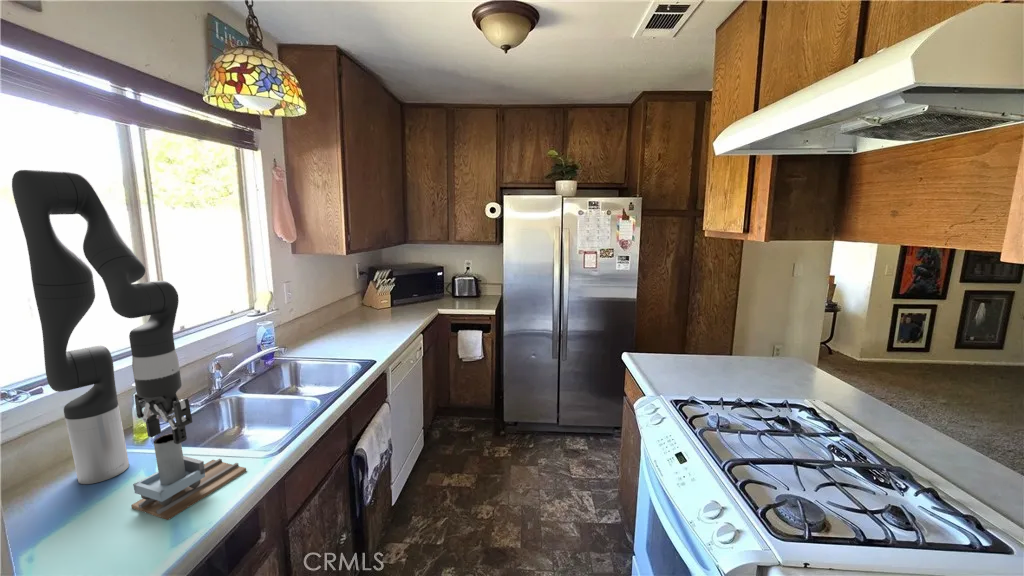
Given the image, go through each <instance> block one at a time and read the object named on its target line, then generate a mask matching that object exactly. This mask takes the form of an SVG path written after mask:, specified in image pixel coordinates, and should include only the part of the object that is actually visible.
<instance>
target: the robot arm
mask: <svg viewBox="0 0 1024 576" xmlns="http://www.w3.org/2000/svg"><path fill="white" fill-rule="evenodd" d="M11 190H12V195H13V199H14V200H13V201H14V204H15V207H16V210H17V213H18V218H19V220H20V223H21V227H22V230H23V235H24V238H25V242H26V246H27V251H28V259H29V265H30V274H31V281H32V283H31V284H32V288H33V289H32V290H33V294H34V298H35V303H36V307H37V312H38V316H39V317H38V318H39V321H40V325H41V333H42V342H43V343H42V344H43V357H44V369H45V376H46V380H47V383H48V385H49V386H50V389H52V391H55V392H58V393H59V392H60V393H61V392H68V391H70V390H71V391H72V390H76V389H80V388H84V387H87V386H92V385H93V386H92V387H91V388H89V389H88V391H86V392H85V393H84V394H82V395H80V396H78V397H76V398H74V399H72V400H70V401H69V402H68V403H66V404H65V405H64V407H63V414H64V419H65V424H66V428H67V429H66V430H67V433H68V438H69V444H70V447H71V454H72V457H73V463H74V468H75V473H76V478H77V482H78V484H81V485H92V484H96V483H100V482H104V481H107V480H110V479H113V478H114V477H115V478H116V477H117V476H119V475H121V474H122V473H124V472H125V471H126V470H127V469H129V466H130V462H129V457H128V451H127V445H126V438H125V433H124V428H123V423H122V416H121V412H120V406H119V400H118V394H117V393H118V392H117V387H116V380H115V368H114V362H113V361H114V360H113V356H112V353H111V351H110V350H109V349H108V348H107V346H106V347H105V346H103V345H95V346H89V347H84V348H79V349H74V350H69V351H67V348H68V345H69V340H70V338H71V335H72V333H73V332H74V330H75V328H76V327H77V326H78V324H79V323H80V322H81V320H82V319H83V318H84V317H85V316H86V315H87V313H88V312H89V310H90V309H91V307H92V305H93V304H94V302H95V299H96V290H95V289H96V288H95V283H94V282H95V281H94V275H93V272H92V270H91V268H90V267H89V265H88V264H87V263H86V262H85V261H84V260H83V259H82V258H80V257H79V256H78V255H77V253H75V252H74V251H73V250H71V249H70V248H69V247H68V246H67V245H66V244H65V243H64V242H63V241H62V240H61V239H60V238H59V236H58V235H57V233H56V232H55V228H54V227H53V224H52V221H51V215H53V216H54V215H80V217H82V218H83V220H85V222H86V225H87V226H86V227H87V228H86V230H85V231H86V232H85V235H84V239H83V244H82V250H83V255H84V256H85V259H86V260H87V262H88V263H89V264H90V266H92V268H93V269H94V270H95V271H96V272H97V274H98V276H100V277H101V279H102V281H103V283H104V286H105V289H106V291H107V294H108V297H109V301H110V305H111V308H112V310H113V311H114V312H115V313H116V314H117V315H119V316H121V317H124V318H125V319H126V318H127V319H137V318H143V317H147V316H149V317H148V320H147V322H145V323H143V324H141V325H139V326H137V327H134V328H133V329H131V331H130V332H129V336H128V340H129V344H130V350H131V355H132V356H131V357H132V364H131V365H132V366H131V368H132V372H133V379H134V386H135V390H136V391H135V392H136V393H135V394H134V402H135V411H136V416H137V418H138V419H142V421H143V422H144V423H145V424H146V425H145V426H146V431H147V437H148V438H154V437H156V436H159V435H160V434H161V432H162V430H161V423H160V418H162V420H163V422H166V423H168V424H169V426H170V427H171V433H172V434H173V440H174V443H175V444H179V443H181V444H182V443H183V442H185V441H187V439H188V437H187V431H186V426H188V425H190V424H192V423H193V418H192V411H191V406H190V401H189V398H188V397H185V398H183V399H179V397H178V395H177V392H178V391H179V390H180V389H181V388H182V386H183V385H182V378H181V371H180V369H181V368H180V364H179V358H178V354H177V351H176V346H175V339H174V327H175V323H176V317H177V313H178V312H177V311H178V308H179V294H178V291H177V289H176V288H175V286H174V285H173V284H171V283H170V282H169V281H165V280H153V281H147V282H140V283H136V282H138V281H140V280H141V279H142V278H143V277H144V276H145V274H146V267H145V265H144V264H143V262H142V261H141V260H140V259H139V258H138V256H137V255H136V254H135V253H134V252H133V250H132V249H131V248H130V247H129V246H128V245H127V243H126V241H124V239H123V238H122V236H121V235H120V233H119V231H118V230H117V228H116V226H115V224H114V223H113V221H112V219H111V216H110V214H109V213H108V210H107V209H106V207H105V206H104V203H103V202H102V200H101V199H100V196H99V195H98V193H97V191H96V190H95V188H94V187H93V185H92V184H91V183H90V181H89V180H88V179H87V178H86V177H84V176H83V175H81V174H79V173H74V172H68V171H56V170H55V171H52V170H51V171H50V170H38V169H36V170H34V169H20V170H17V171H16V172H14V174H13V175H12V179H11ZM143 408H144V409H143ZM159 417H160V418H159Z"/></svg>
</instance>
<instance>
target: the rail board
mask: <svg viewBox="0 0 1024 576" xmlns="http://www.w3.org/2000/svg"><path fill="white" fill-rule="evenodd" d="M204 468H205V477H204V478H202V479H200V480H201V482H200V485H199V486H198V487H196V488H191V487H189V486H188V487H187V488H185V489H183V490H181V491H180V492H178V493H176V494H175V495H173V496H172V501H171V502H170V503H169V504H168V505H161V504H160V503H159V501H158V500H155V499H151V498H150V499H148V500H146V499H143V498H141V499H139V500H137V501H135V502H134V503H132V504H131V509H133V510H136V511H140V512H143V513H145V512H146V513H145V514H149V515H150V516H151V515H152V516H154V517H157V518H160V519H164V520H166V521H169V520H171V519H172V518H174V517H176V516H177V515H179V514H180V513H182V512H184V511H185V510H186V509H188V508H190V507H191V506H193V505H194V504H196V503H198V502H200V501H201V500H203V499H205V498H206V497H207V496H209V495H210V494H212V493H213V492H215V491H216V490H218V489H220V488H222V487H223V486H225V485H226V484H228V483H229V482H231V481H233V480H234V479H236V478H237V477H239V476H241V475H243V474H244V473H245V472H247V467H243V466H239V463H238V462H235V463H233V464H232V463H227V462H224V461H223V459H221V458H217V459H211V460H210V461H208V462H206V463H204Z"/></svg>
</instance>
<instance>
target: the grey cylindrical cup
mask: <svg viewBox="0 0 1024 576" xmlns="http://www.w3.org/2000/svg"><path fill="white" fill-rule="evenodd" d="M153 447H154V453H155V458H156V459H155V460H156V464H157V472H159V478H160V483H161V484H162V485H170V484H173V483H175V482H177V481H179V480H180V479H182V478H184V477H185V476H186V472H185V465H184V459H183V456H184V454H183V453H184V452H183V447H182V442H181V443H179V444H175V443H174V440H173V434H172V432H171V433H167V434H163V435H161V436H159V437H157V438H156V439H155V440H153Z"/></svg>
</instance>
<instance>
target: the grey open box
mask: <svg viewBox="0 0 1024 576" xmlns="http://www.w3.org/2000/svg"><path fill="white" fill-rule="evenodd" d="M183 459H184V465H185V472H186V476H185V477H184V478H182V479H180V480H179V481H177V482H175V483H173V484H170V485H162V484H161V483H160V478H159V472H158V471H156V472H154V473H153V474H151V475H149V476H147V477H145V478H143V479H141V480H138V481H137V482H135V483H134V484H132V486H133V490H134V494H136V495H140V496H141V499H146V500H148V499H150V498H151V499H155V500H158V501H159V503H160V504H161V505H168V504H169V503H170V502H171V501H172V496H173V495H175V494H176V493H178V492H180V491H181V490H183V489H185V488H187V487H188V486H189V487H191V488H196V487H198V486H199V485H200V482H201V480H200V479H202V478H204V477H205V468H204V464H205V463H204V460H201V459H198V458H197V459H196V458H192V457H188V456H186V455H183Z"/></svg>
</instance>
